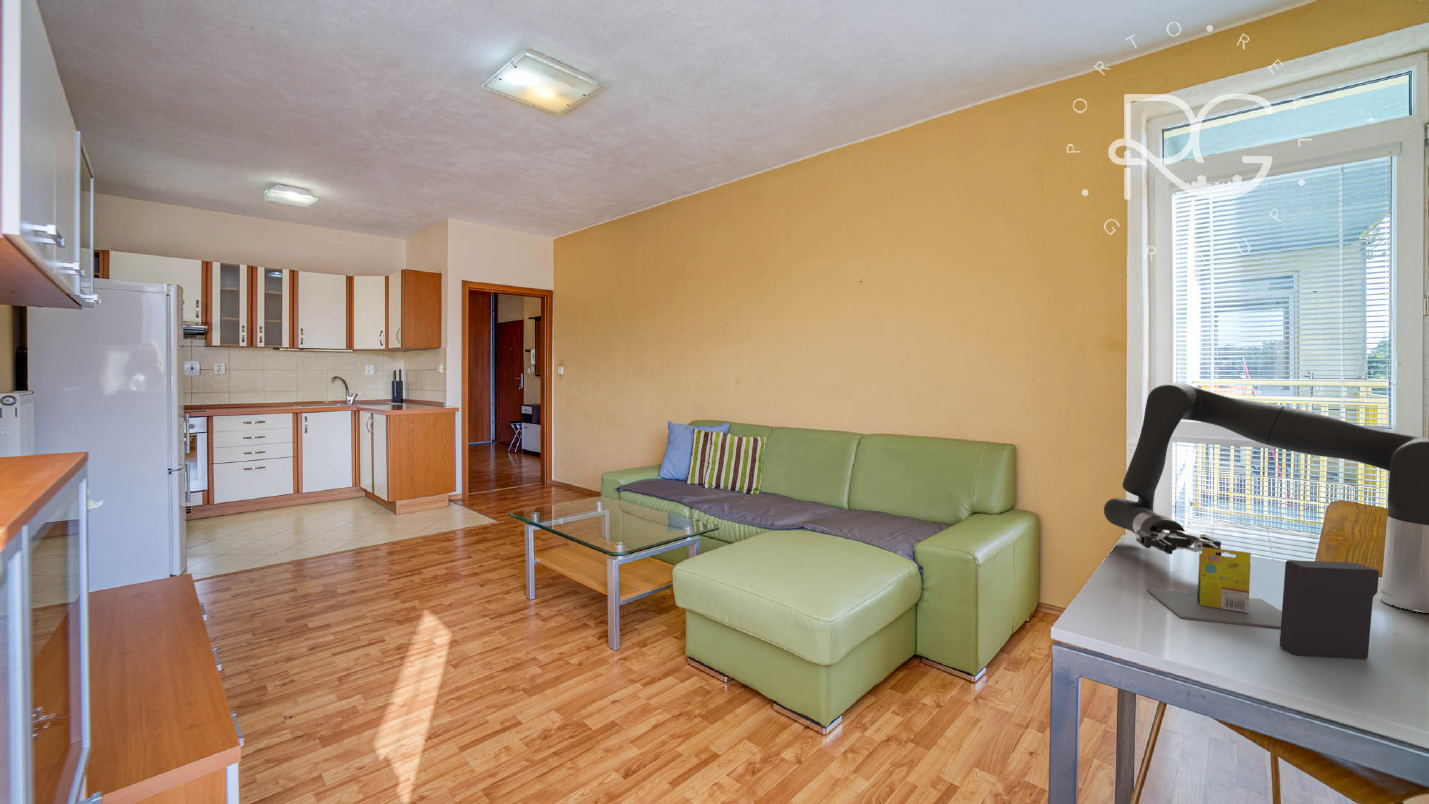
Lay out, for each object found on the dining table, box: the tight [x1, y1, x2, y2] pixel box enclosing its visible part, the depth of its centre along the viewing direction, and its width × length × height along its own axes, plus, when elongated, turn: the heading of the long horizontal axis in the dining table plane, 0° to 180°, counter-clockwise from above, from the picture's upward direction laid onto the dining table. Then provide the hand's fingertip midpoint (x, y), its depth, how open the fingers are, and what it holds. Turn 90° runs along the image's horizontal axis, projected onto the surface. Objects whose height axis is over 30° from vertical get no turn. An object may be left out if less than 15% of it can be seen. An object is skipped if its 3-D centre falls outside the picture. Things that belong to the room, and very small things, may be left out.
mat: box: [1145, 588, 1282, 630], centre depth 113 cm, size 20×14×1 cm
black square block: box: [1279, 559, 1380, 660], centre depth 96 cm, size 11×4×15 cm, turn 84°
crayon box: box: [1196, 547, 1252, 614], centre depth 113 cm, size 7×3×12 cm, turn 58°
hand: (1194, 551), depth 123 cm, fingers open, 8 cm apart
